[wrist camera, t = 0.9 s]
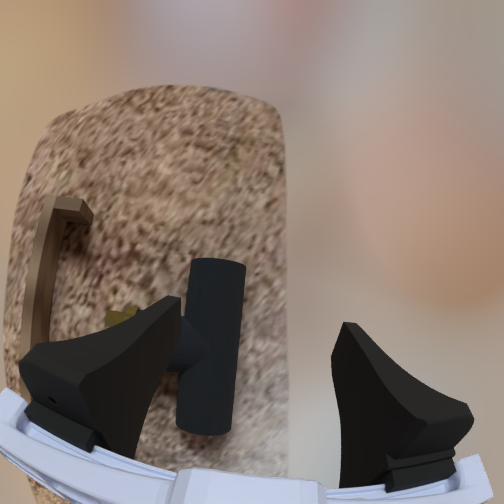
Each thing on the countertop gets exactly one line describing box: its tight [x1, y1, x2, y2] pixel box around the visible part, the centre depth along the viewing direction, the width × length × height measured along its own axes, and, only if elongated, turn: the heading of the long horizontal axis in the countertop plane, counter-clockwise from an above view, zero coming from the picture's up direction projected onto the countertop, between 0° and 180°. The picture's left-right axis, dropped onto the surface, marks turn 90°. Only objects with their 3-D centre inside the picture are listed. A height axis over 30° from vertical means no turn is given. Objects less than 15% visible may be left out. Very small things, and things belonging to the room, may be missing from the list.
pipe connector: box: [105, 258, 246, 436], centre depth 23 cm, size 12×5×15 cm
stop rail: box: [20, 195, 94, 404], centre depth 21 cm, size 20×4×4 cm, turn 175°
